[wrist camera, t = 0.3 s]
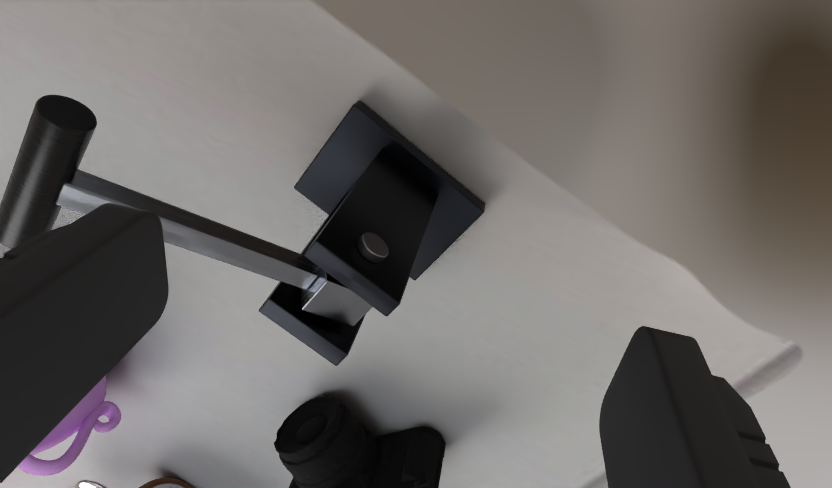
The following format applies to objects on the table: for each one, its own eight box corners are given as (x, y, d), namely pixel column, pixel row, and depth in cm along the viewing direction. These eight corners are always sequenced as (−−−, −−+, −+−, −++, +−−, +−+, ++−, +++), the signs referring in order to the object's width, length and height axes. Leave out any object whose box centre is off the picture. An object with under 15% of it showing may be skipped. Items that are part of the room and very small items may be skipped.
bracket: (299, 181, 35) (196, 287, 24) (359, 99, 32) (270, 179, 20) (417, 272, 37) (371, 410, 26) (485, 203, 33) (466, 329, 22)
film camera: (406, 369, 41) (379, 466, 33) (458, 454, 45) (444, 560, 37) (255, 409, 46) (201, 501, 39) (312, 482, 50) (273, 580, 42)
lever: (5, 204, 20) (-21, 248, 18) (50, 80, 17) (23, 119, 16) (329, 310, 28) (331, 349, 26) (397, 236, 25) (405, 274, 23)
